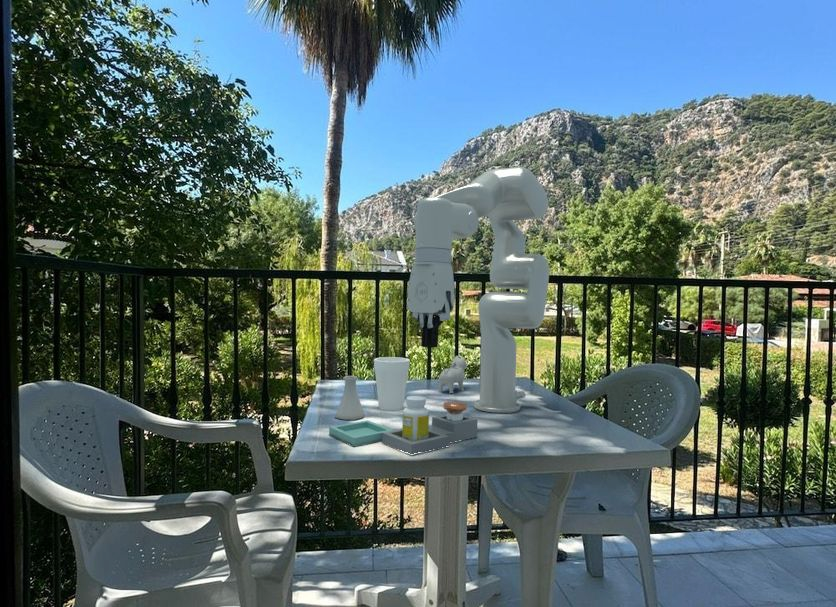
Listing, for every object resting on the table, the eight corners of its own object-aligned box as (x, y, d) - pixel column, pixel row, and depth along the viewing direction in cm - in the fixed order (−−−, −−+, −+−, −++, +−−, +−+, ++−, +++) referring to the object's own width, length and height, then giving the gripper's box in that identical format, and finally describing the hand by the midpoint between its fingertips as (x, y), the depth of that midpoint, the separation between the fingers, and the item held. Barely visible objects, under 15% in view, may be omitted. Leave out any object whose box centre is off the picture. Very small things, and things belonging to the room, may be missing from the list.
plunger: (454, 431, 118) (455, 400, 118) (470, 436, 114) (471, 404, 114) (438, 434, 115) (438, 403, 114) (453, 440, 111) (454, 407, 111)
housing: (450, 428, 120) (451, 411, 120) (481, 438, 113) (482, 420, 113) (381, 443, 108) (382, 423, 108) (411, 455, 101) (411, 435, 100)
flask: (369, 415, 131) (370, 375, 131) (356, 422, 124) (357, 380, 124) (343, 412, 134) (344, 373, 133) (329, 419, 127) (330, 378, 126)
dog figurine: (470, 388, 169) (471, 356, 168) (451, 395, 158) (452, 360, 157) (456, 386, 171) (457, 354, 171) (436, 392, 161) (437, 358, 160)
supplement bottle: (429, 441, 110) (430, 395, 110) (427, 449, 104) (428, 401, 104) (403, 440, 110) (404, 394, 110) (400, 448, 105) (401, 400, 105)
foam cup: (395, 414, 133) (396, 363, 132) (366, 408, 138) (367, 359, 137) (415, 407, 141) (416, 359, 141) (387, 402, 146) (388, 356, 145)
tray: (367, 428, 119) (368, 420, 119) (393, 438, 111) (394, 430, 111) (329, 435, 113) (329, 427, 113) (353, 447, 105) (354, 438, 105)
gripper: (396, 258, 112) (393, 344, 112) (444, 255, 100) (440, 351, 100) (423, 261, 116) (420, 343, 117) (471, 259, 105) (468, 350, 105)
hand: (429, 346), depth 108 cm, fingers closed
